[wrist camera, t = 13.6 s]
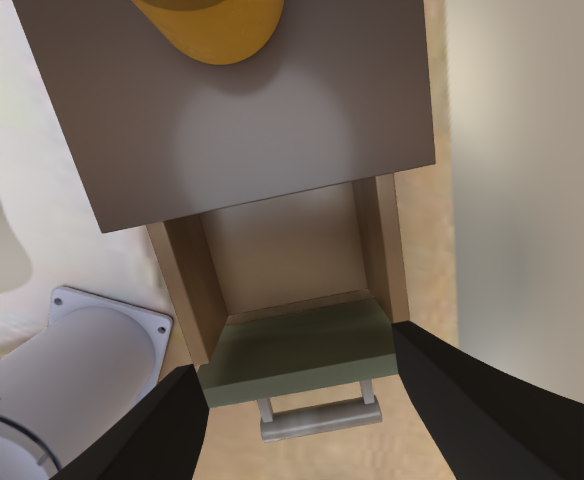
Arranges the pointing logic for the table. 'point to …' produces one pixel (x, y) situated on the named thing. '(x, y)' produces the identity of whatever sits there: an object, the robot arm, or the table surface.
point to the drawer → (290, 299)
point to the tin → (214, 26)
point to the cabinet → (232, 105)
